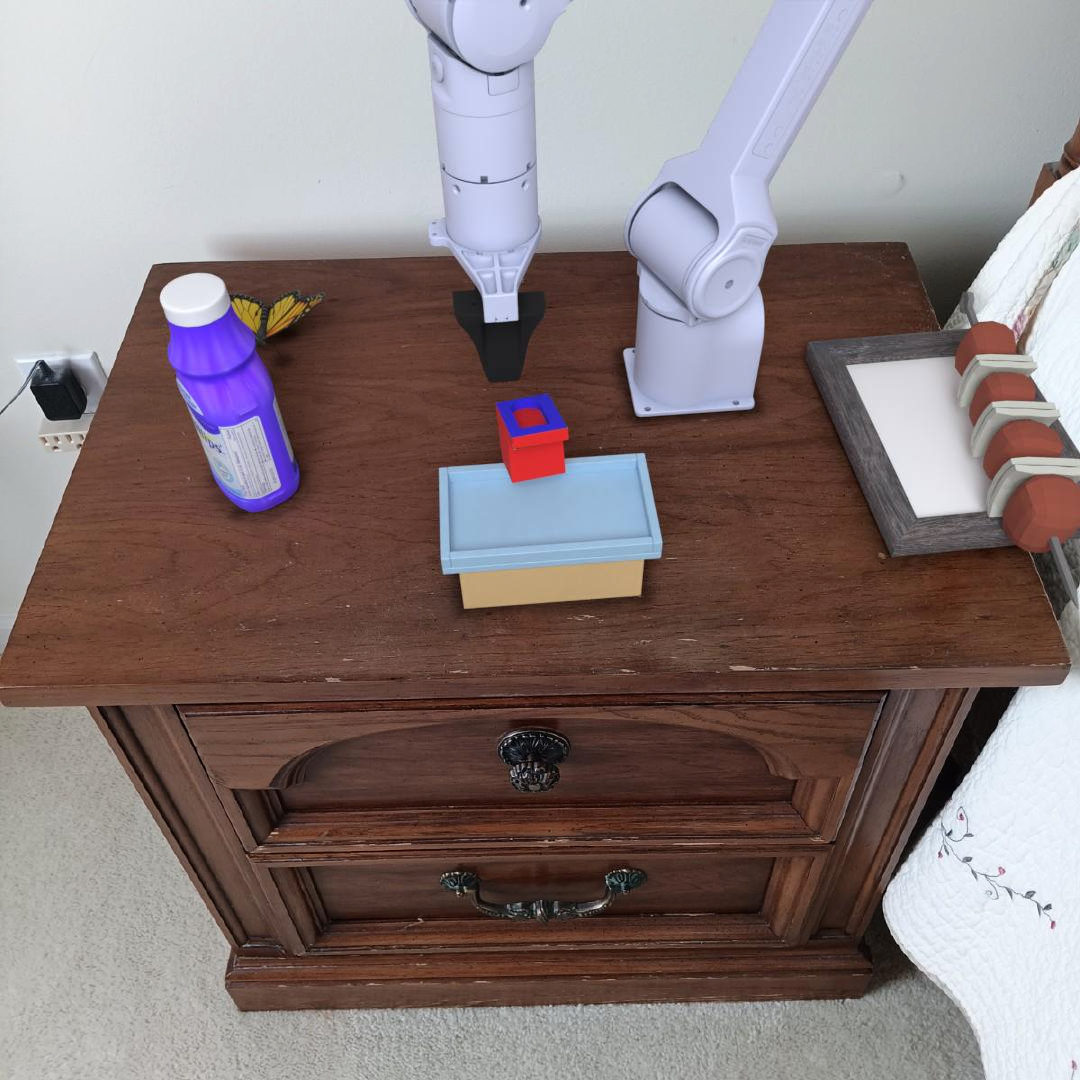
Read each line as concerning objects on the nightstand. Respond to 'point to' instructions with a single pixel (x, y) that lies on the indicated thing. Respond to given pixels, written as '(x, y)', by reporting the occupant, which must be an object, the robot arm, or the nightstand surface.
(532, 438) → the toy building block
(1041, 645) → the nightstand surface
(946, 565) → the nightstand surface
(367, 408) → the nightstand surface
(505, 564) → the stand
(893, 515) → the picture frame
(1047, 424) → the skewer
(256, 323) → the butterfly
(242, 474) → the bottle
